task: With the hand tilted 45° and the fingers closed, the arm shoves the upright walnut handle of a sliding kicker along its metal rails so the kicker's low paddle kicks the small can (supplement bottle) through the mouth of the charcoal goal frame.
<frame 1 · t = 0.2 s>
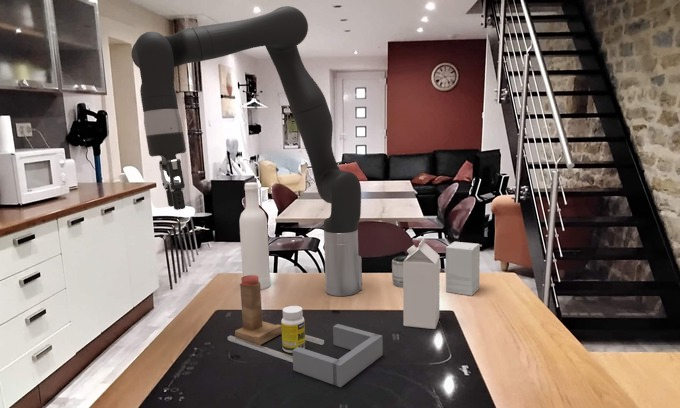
hand: (176, 207, 103), 28 cm above the counter, tool pointing down, fingers open, 8 cm apart
kicker: (257, 307, 102), point 7 cm above the counter, slide at 0.0 cm
milk carton: (421, 322, 108), on the counter
supplement bottle: (294, 349, 97), on the counter
goal: (337, 361, 91), on the counter
track: (275, 340, 100), on the counter
bottle: (256, 286, 137), on the counter
supplement box: (462, 290, 129), on the counter
camera lens: (403, 284, 136), on the counter
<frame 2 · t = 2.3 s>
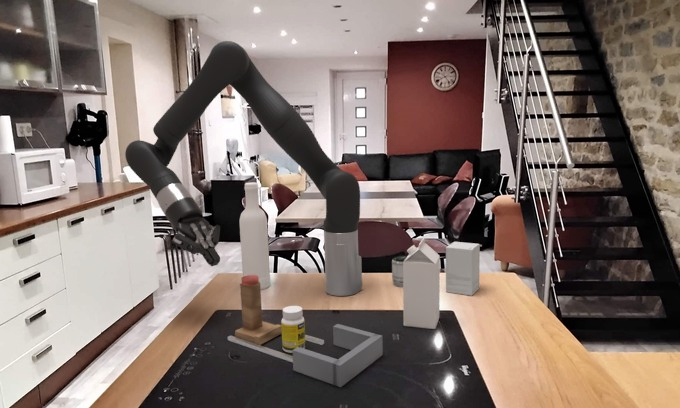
hand: (216, 263, 108), 15 cm above the counter, tool tilted 45°, fingers closed
nothing on the counter moved.
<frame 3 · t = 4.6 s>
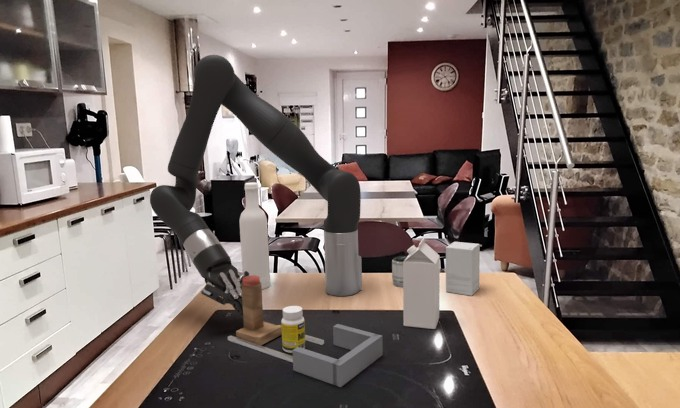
hand: (246, 314, 104), 4 cm above the counter, tool tilted 45°, fingers closed
kicker: (258, 307, 102), point 7 cm above the counter, slide at 0.4 cm, touching gripper
everything else where it was.
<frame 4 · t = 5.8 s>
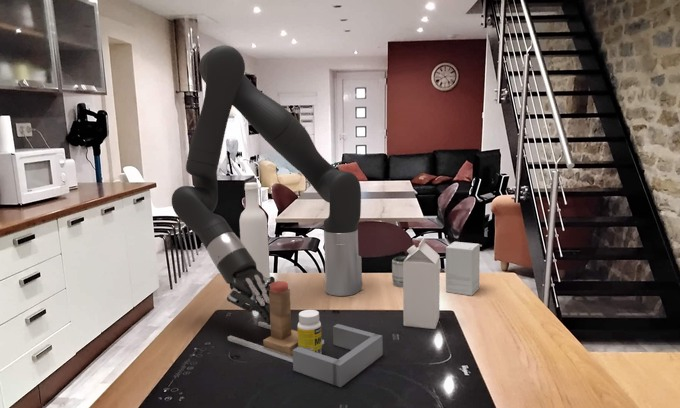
hand: (273, 322, 100), 4 cm above the counter, tool tilted 45°, fingers closed
kicker: (286, 315, 97), point 7 cm above the counter, slide at 8.5 cm, touching supplement bottle, gripper
supplement bottle: (310, 354, 94), on the counter, touching kicker
everything else where it was.
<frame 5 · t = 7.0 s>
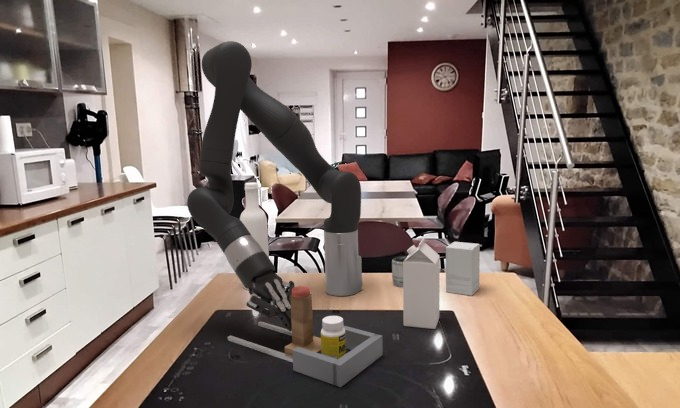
hand: (294, 328, 96), 4 cm above the counter, tool tilted 45°, fingers closed
kicker: (309, 321, 94), point 7 cm above the counter, slide at 14.3 cm, touching supplement bottle, gripper
supplement bottle: (333, 362, 91), on the counter, touching kicker
everything else where it was.
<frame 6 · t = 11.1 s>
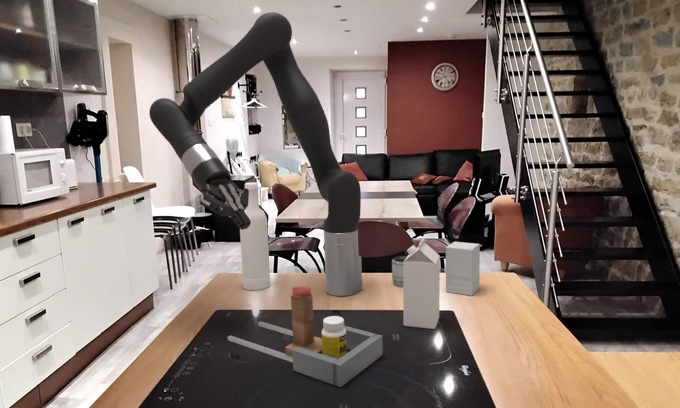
hand: (246, 226, 102), 24 cm above the counter, tool tilted 45°, fingers closed
kicker: (309, 321, 93), point 7 cm above the counter, slide at 14.5 cm
supplement bottle: (334, 362, 91), on the counter
everything else where it was.
at the end: supplement bottle inside the target area on the goal (1.0 cm from its centre), point 0.0 cm above the goal's base; supplement bottle tilted 0°; kicker slide at 14.5 cm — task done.
